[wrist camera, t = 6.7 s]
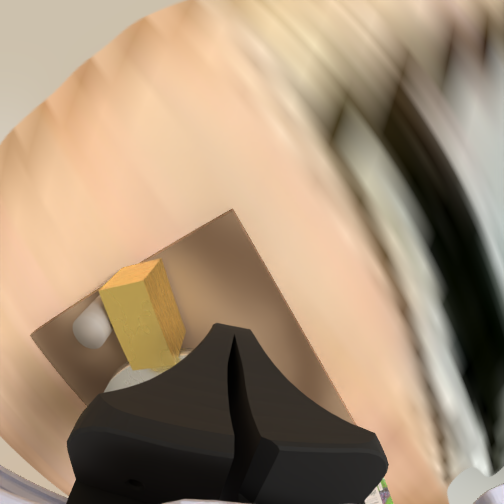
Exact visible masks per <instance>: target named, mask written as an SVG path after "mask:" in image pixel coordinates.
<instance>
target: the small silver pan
mask: <svg viewBox="0 0 504 504" xmlns="http://www.w3.org/2000/svg"><path fill="white" fill-rule="evenodd" d="M99 294H100V297H101V299H102V302H103V304H104V307H105V309H106V312H107V314H108V317H109V319H110V321H111V324H112V326H113V328H114V331H115V333H116V335H117V338H118V340H119V342H120V344H121V347H122V349H123V351H124V353H125V355H126V357H127V360H128V361H127V362H126V363H125V364H123V365H122V366H121V367H120V368H119V369H118V370H117V371H116V372H115V373H114V375H113V376H112V378H111V380H110V381H109V383H108V385H107V387H106V389H105V391H104V392H109V391H114V390H119V389H123V388H127V387H130V386H134V385H137V384H140V383H142V382H145V381H147V380H150V379H152V378H154V377H156V376H158V375H159V374H161V373H163V372H165V371H166V370H168V369H170V368H171V367H173V366H174V365H176V364H177V363H178V362H180V361H181V360H182V359H184V358H185V357H186V356H187V355H188V354H189V353H190V352H191V351H193V350H194V349H195V348H181V346H182V343H183V339H184V336H185V333H186V330H185V327H184V324H183V321H182V318H181V316H180V313H179V310H178V307H177V304H176V301H175V298H174V295H173V292H172V289H171V286H170V283H169V280H168V277H167V274H166V271H165V268H164V265H163V261H162V258H160V259H156V260H152V261H147V262H143V263H139V264H135V265H131V266H127V267H123V268H122V269H120V270H119V271H118V272H117V273H116V274H115V275H114V276H113V277H112V278H111V279H110V280H109V281H108V282H107V283H106V284H105V285H104V286H103V287H102V288H101V289H100V290H99Z"/></svg>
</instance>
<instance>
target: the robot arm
mask: <svg viewBox="0 0 504 504" xmlns="http://www.w3.org/2000/svg"><path fill="white" fill-rule="evenodd" d="M67 448H68V453H69V457H70V461H71V464H72V467H73V471H74V474H75V477H76V481H75V483H74V486H73V488H72V490H71V493H70V495H69V498H66V497H64V496H61V495H59V494H56V493H54V492H52V491H49V490H47V489H45V488H43V487H41V486H39V485H37V484H35V483H33V482H30V481H29V480H27V479H25V478H23V477H21V476H19V475H17V474H15V473H13V472H12V471H9V470H8V469H6V468H4V467H3V466H1V465H0V504H365V499H366V498H367V497H368V496H369V495H370V494H371V493H372V491H373V490H374V489H375V488H376V487H377V486H378V484H379V483H380V482H381V481H382V479H383V477H384V476H385V474H386V473H387V469H388V465H389V464H388V461H387V458H386V455H385V453H384V451H383V448H382V446H381V444H380V442H379V440H378V438H377V436H376V434H375V433H373V432H370V431H368V430H366V429H363V428H361V427H358V426H356V425H354V424H351V423H349V422H347V421H345V420H343V419H341V418H340V417H338V416H336V415H334V414H332V413H331V412H329V411H327V410H326V409H324V408H322V407H321V406H320V405H318V404H317V403H315V402H314V401H313V400H311V399H310V398H308V397H307V396H306V395H305V394H303V393H302V392H301V391H300V390H299V389H298V388H296V387H295V386H294V385H293V384H292V383H291V382H290V381H289V380H288V379H287V378H286V377H285V376H284V375H283V374H282V373H281V372H280V370H279V369H278V368H277V367H276V366H275V365H274V363H273V362H272V361H271V360H270V358H269V357H268V355H267V354H266V353H265V351H264V350H263V348H262V347H261V345H260V344H259V342H258V340H257V339H256V337H255V336H254V334H253V332H252V331H251V329H246V328H241V327H236V326H231V325H226V324H221V323H215V324H213V325H212V328H211V329H210V331H209V333H208V334H207V335H206V337H205V338H204V339H203V340H202V341H201V342H200V343H199V345H198V346H197V347H196V348H195V349H194V350H193V351H191V352H190V353H189V354H188V355H187V356H186V357H185V358H184V359H182V360H181V361H180V362H178V363H177V364H176V365H174V366H173V367H171V368H170V369H168V370H166V371H165V372H163V373H161V374H159V375H158V376H156V377H154V378H152V379H150V380H147V381H145V382H142V383H140V384H137V385H134V386H130V387H127V388H123V389H119V390H114V391H109V392H104V393H99V394H98V395H97V396H96V397H95V398H94V399H93V400H92V402H91V403H90V404H89V405H88V406H87V408H86V409H85V410H84V411H83V413H82V414H81V416H80V417H79V419H78V421H77V423H76V424H75V426H74V428H73V430H72V432H71V434H70V436H69V438H68V440H67ZM473 504H504V484H501V485H499V486H497V487H494V488H492V489H490V490H488V491H486V492H485V493H484V494H482V495H481V496H480V497H479V498H478V499H477V500H476V501H475V502H474V503H473Z"/></svg>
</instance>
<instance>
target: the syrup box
mask: <svg viewBox="0 0 504 504" xmlns="http://www.w3.org/2000/svg"><path fill="white" fill-rule="evenodd" d="M365 504H393V502H392V499H391V496H390V493H389V490H388V488H387V485H386V482H385V479H384V477H383V479H382V481H381V482H380V483H379V484H378V486H377V487H376V488H375V489H374V490H373V491H372V493H371V494H370V495H369V496H368V497H367V498H366V499H365Z"/></svg>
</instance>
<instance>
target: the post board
mask: <svg viewBox="0 0 504 504" xmlns="http://www.w3.org/2000/svg"><path fill="white" fill-rule="evenodd" d="M160 258H162V261H163V265H164V268H165V271H166V274H167V277H168V280H169V283H170V286H171V289H172V292H173V295H174V298H175V301H176V304H177V307H178V310H179V313H180V316H181V318H182V321H183V324H184V327H185V330H186V333H185V336H184V339H183V343H182V346H181V348H196V347H197V346H198V345H199V343H200V342H201V341H202V340H203V339H204V338H205V337H206V335H207V334H208V333H209V331H210V329H211V328H212V325H213V324H215V323H221V324H226V325H231V326H236V327H241V328H246V329H251V331H252V332H253V334H254V336H255V337H256V339H257V340H258V342H259V344H260V345H261V347H262V348H263V350H264V351H265V353H266V354H267V355H268V357H269V358H270V360H271V361H272V362H273V363H274V365H275V366H276V367H277V368H278V369H279V370H280V372H281V373H282V374H283V375H284V376H285V377H286V378H287V379H288V380H289V381H290V382H291V383H292V384H293V385H294V386H295V387H296V388H298V389H299V390H300V391H301V392H302V393H303V394H305V395H306V396H307V397H308V398H310V399H311V400H313V401H314V402H315V403H317V404H318V405H320V406H321V407H322V408H324V409H326V410H327V411H329V412H331V413H332V414H334V415H336V416H338V417H340V418H341V419H343V420H345V421H347V422H349V423H351V424H354V425H356V424H355V422H354V420H353V418H352V417H351V415H350V413H349V411H348V410H347V408H346V406H345V404H344V402H343V401H342V399H341V397H340V395H339V394H338V392H337V390H336V388H335V387H334V385H333V383H332V381H331V380H330V378H329V376H328V374H327V372H326V371H325V369H324V367H323V365H322V364H321V362H320V360H319V358H318V357H317V355H316V353H315V351H314V350H313V348H312V346H311V344H310V343H309V341H308V339H307V337H306V336H305V334H304V332H303V330H302V328H301V327H300V325H299V323H298V321H297V320H296V318H295V316H294V314H293V313H292V311H291V309H290V307H289V306H288V304H287V302H286V300H285V299H284V297H283V295H282V293H281V292H280V290H279V288H278V286H277V285H276V283H275V281H274V279H273V278H272V276H271V274H270V272H269V271H268V269H267V267H266V266H265V264H264V262H263V260H262V259H261V257H260V255H259V253H258V252H257V250H256V248H255V246H254V245H253V243H252V241H251V239H250V238H249V236H248V234H247V232H246V231H245V229H244V227H243V225H242V224H241V222H240V220H239V219H238V217H237V215H236V213H235V212H234V210H233V209H231V210H229V211H227V212H226V213H224V214H222V215H220V216H219V217H217V218H215V219H213V220H212V221H210V222H208V223H206V224H205V225H203V226H201V227H199V228H198V229H196V230H194V231H192V232H191V233H189V234H187V235H186V236H184V237H182V238H180V239H179V240H177V241H175V242H174V243H172V244H170V245H169V246H167V247H165V248H164V249H162V250H160V251H159V252H157V253H155V254H154V255H152V256H150V257H149V258H147V259H145V260H144V261H142V262H140V263H143V262H147V261H152V260H156V259H160ZM103 286H104V285H103ZM103 286H102V287H103ZM102 287H100V288H99V289H97V290H95V291H94V292H92V293H91V294H89V295H88V296H86V297H85V298H83V299H81V300H80V301H78V302H77V303H75V304H74V305H72V306H71V307H69V308H68V309H66V310H65V311H63V312H62V313H60V314H59V315H57V316H55V317H54V318H52V319H51V320H49V321H48V322H47V323H45V324H44V325H42V326H41V327H39V328H38V329H36V330H35V331H34V332H33V333H32V334H31V335H30V336H31V337H32V339H33V340H34V342H35V343H36V344H37V346H38V347H39V348H40V350H41V351H42V352H43V354H44V355H45V356H46V358H47V359H48V360H49V362H50V363H51V364H52V365H53V367H54V368H55V369H56V370H57V372H58V373H59V374H60V375H61V377H62V378H63V379H64V380H65V381H66V383H67V384H68V385H69V386H70V387H71V388H72V390H73V391H74V392H75V393H76V394H77V395H78V396H79V398H80V399H81V400H82V401H83V402H84V403H85V404H86V405H87V406H88V405H89V404H90V403H91V402H92V400H93V399H94V398H95V397H96V396H97V395H98V394H99V393H104V391H105V389H106V387H107V385H108V383H109V381H110V380H111V378H112V376H113V375H114V373H115V372H116V371H117V370H118V369H119V368H120V367H121V366H122V365H123V364H125V363H126V362H127V361H128V360H127V357H126V355H125V353H124V351H123V349H122V347H121V344H120V342H119V340H118V338H117V335H116V333H115V331H114V328H113V326H112V324H111V321H110V319H109V317H108V314H107V312H106V309H105V307H104V304H103V302H102V299H101V297H100V294H99V290H100V289H101V288H102ZM356 426H357V425H356Z"/></svg>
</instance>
